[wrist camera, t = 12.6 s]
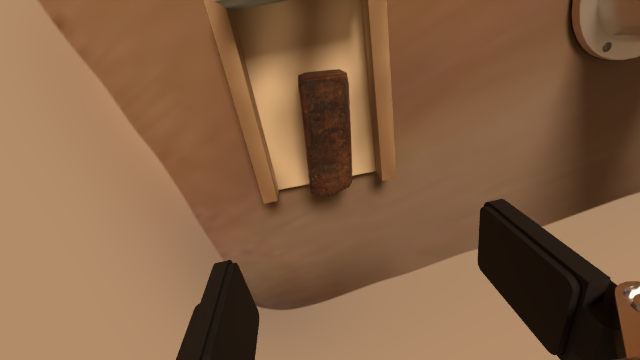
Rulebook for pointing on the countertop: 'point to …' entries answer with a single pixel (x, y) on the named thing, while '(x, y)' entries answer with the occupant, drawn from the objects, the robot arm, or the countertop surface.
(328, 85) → the brick
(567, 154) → the countertop surface
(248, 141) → the rail board
